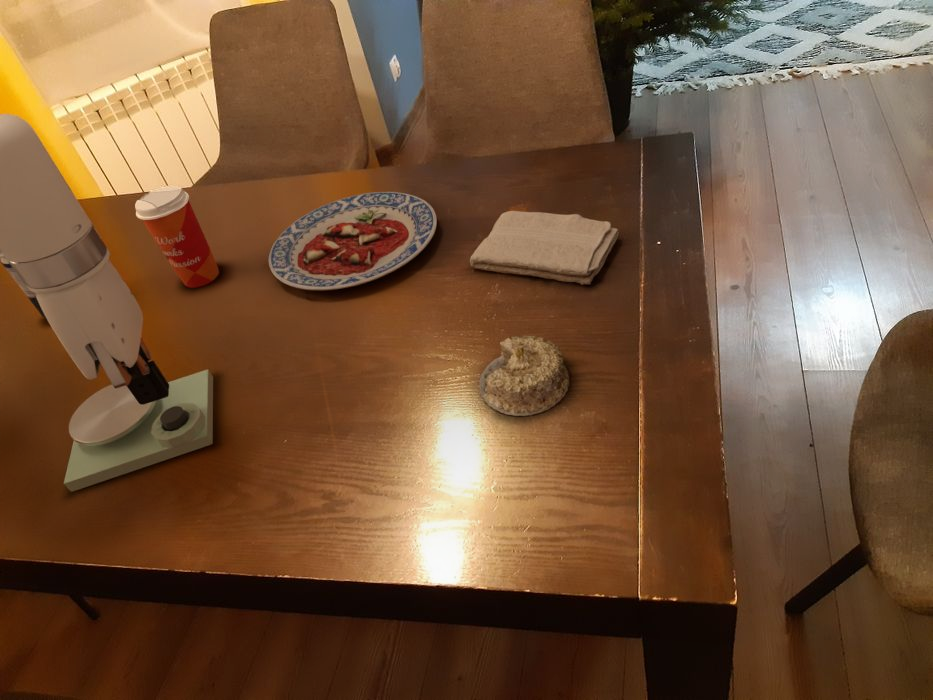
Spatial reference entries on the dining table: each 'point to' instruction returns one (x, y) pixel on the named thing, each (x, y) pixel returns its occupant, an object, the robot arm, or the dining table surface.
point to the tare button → (173, 418)
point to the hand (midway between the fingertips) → (155, 395)
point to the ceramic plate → (352, 241)
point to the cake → (525, 377)
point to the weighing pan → (107, 416)
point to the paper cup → (178, 234)
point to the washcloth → (546, 246)
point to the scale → (149, 436)
